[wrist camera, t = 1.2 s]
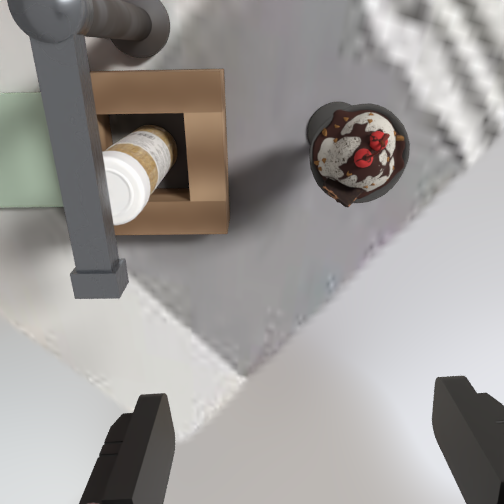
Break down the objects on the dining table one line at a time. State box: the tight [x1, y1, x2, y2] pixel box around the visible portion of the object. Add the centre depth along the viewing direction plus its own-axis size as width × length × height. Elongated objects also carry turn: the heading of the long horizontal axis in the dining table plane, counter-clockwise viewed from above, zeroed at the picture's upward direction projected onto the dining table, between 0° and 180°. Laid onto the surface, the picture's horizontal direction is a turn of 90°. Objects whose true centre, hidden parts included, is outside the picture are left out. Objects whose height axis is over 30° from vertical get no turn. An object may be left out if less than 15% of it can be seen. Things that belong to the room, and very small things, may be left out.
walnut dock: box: [85, 0, 230, 235], centre depth 32 cm, size 19×13×16 cm
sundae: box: [308, 102, 410, 207], centre depth 32 cm, size 7×7×15 cm
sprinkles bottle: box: [102, 125, 177, 225], centre depth 34 cm, size 5×5×13 cm
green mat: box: [0, 92, 64, 208], centre depth 40 cm, size 10×10×1 cm
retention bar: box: [7, 0, 129, 299], centre depth 23 cm, size 17×3×2 cm, turn 1°
